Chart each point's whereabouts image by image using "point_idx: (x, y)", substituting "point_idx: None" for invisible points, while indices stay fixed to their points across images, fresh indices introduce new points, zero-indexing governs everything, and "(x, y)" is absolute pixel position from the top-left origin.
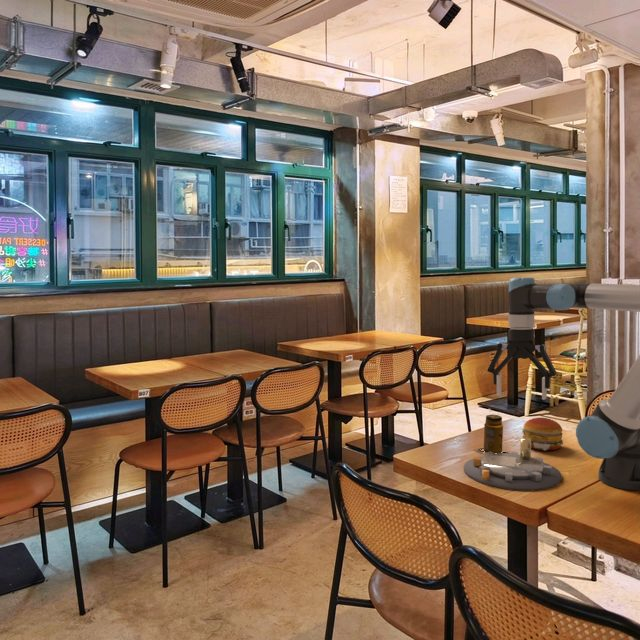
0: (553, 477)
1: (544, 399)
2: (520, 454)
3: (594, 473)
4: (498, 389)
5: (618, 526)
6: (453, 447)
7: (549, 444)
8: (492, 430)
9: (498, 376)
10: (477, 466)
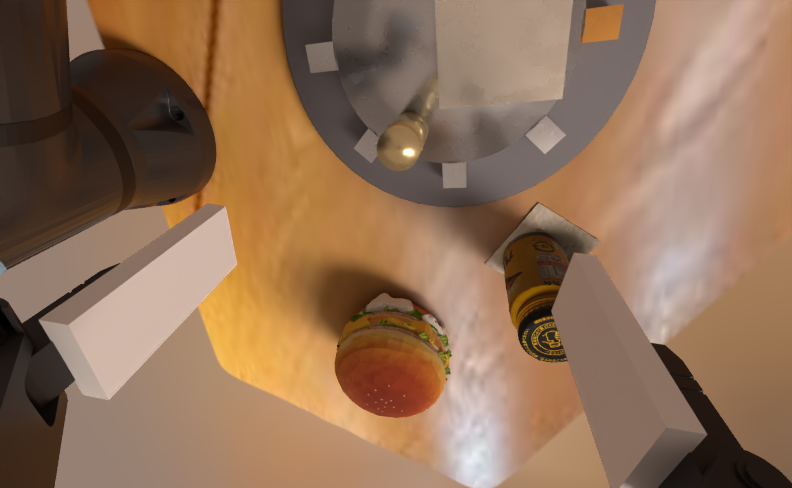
0: (305, 28)
1: (207, 205)
2: (425, 126)
3: (233, 165)
4: (598, 288)
5: None
6: (677, 250)
7: (368, 308)
8: (550, 276)
9: (665, 410)
10: None
